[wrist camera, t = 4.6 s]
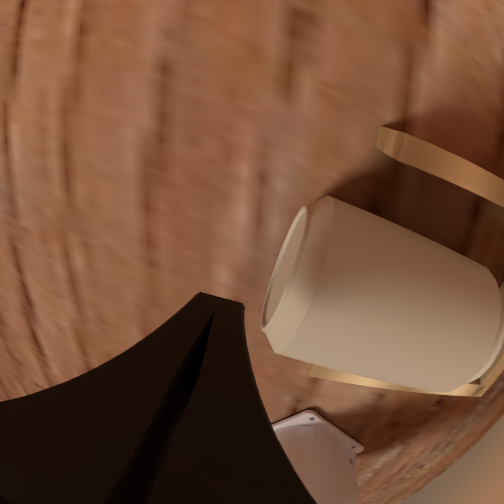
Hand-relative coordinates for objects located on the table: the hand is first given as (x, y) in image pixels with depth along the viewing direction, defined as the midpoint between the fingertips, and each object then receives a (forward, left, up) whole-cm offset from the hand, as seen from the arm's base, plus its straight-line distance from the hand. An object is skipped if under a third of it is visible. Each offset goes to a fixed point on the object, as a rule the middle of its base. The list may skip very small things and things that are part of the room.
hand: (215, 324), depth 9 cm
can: (-2, 0, -6) cm, 6 cm away
